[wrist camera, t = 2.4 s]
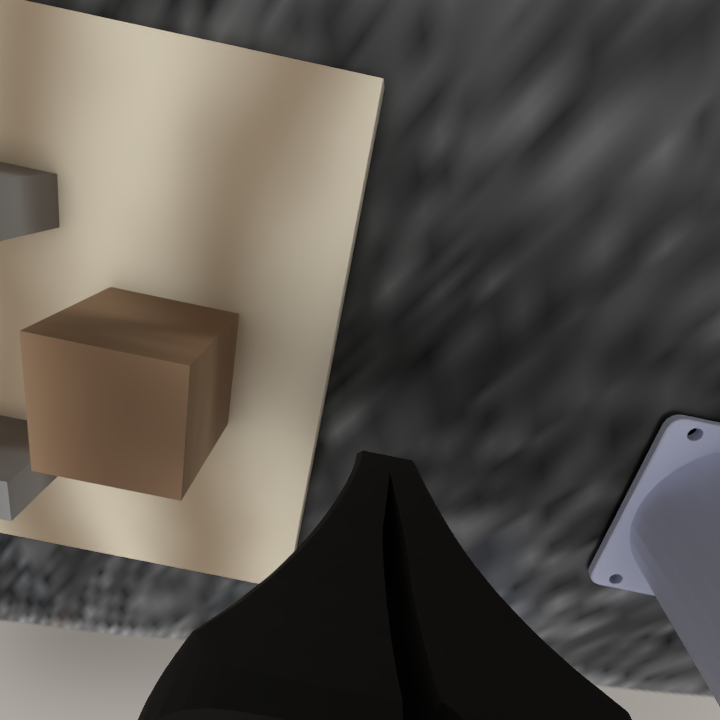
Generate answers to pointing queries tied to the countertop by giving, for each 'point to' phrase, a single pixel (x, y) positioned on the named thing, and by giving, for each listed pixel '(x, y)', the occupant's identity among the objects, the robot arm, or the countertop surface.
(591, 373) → the countertop surface
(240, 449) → the board
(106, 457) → the walnut block
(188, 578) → the countertop surface
